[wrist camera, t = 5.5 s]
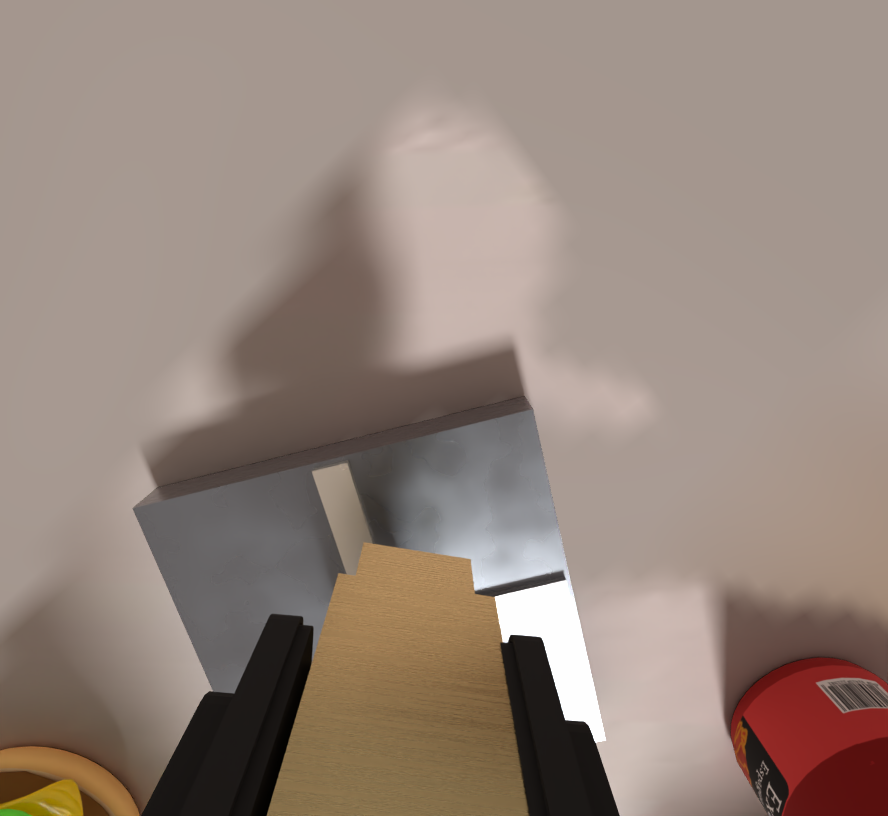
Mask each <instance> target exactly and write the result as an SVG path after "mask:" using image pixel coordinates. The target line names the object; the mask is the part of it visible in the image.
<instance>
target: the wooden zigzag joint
mask: <svg viewBox="0 0 888 816" xmlns="http://www.w3.org/2000/svg"><path fill="white" fill-rule="evenodd" d="M500 642H501V643H503V638H502V633H501V627H500V622H499V616H498V610H497V605H496V599H495V597H491V596H485V595H478V594H475V591H474V583H473V575H472V566H471V559H467V558H461V557H454V556H448V555H442V554H435V553H429V552H422V551H416V550H410V549H403V548H397V547H391V546H384V545H378V544H371V543H365V542H364V543H363V547H362V551H361V555H360V559H359V563H358V568H357V572H356V576H354V575H347V574H341V573H338V577H337V580H336V583H335V587H334V590H333V594H332V597H331V600H330V604H329V607H328V610H327V614H326V617H325V621H324V624H323V627H322V631H321V634H320V637H319V641H318V644H317V648H316V651H315V654H314V658H313V661H312V664H311V668H310V671H309V675H308V678H307V681H306V685H305V688H304V691H303V695H302V698H301V702H300V705H299V708H298V712H297V715H296V718H295V722H294V725H293V729H292V732H291V735H290V739H289V742H288V745H287V749H286V752H285V756H284V759H283V762H282V766H281V769H280V772H279V776H278V779H277V783H276V786H275V789H274V793H273V796H272V799H271V803H270V806H269V810H268V813H267V816H529V810H528V804H527V798H526V792H525V786H524V780H523V774H522V769H521V763H520V757H519V751H518V745H517V739H516V733H515V727H514V721H513V715H512V710H511V704H510V698H509V692H508V686H507V680H506V674H505V668H504V662H503V657H502V651H501V645H500Z"/></svg>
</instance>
